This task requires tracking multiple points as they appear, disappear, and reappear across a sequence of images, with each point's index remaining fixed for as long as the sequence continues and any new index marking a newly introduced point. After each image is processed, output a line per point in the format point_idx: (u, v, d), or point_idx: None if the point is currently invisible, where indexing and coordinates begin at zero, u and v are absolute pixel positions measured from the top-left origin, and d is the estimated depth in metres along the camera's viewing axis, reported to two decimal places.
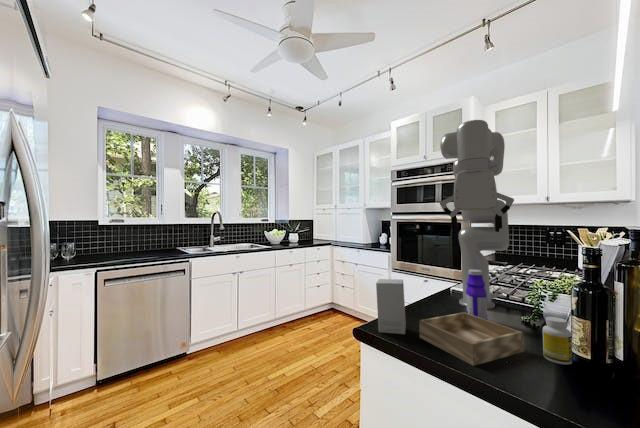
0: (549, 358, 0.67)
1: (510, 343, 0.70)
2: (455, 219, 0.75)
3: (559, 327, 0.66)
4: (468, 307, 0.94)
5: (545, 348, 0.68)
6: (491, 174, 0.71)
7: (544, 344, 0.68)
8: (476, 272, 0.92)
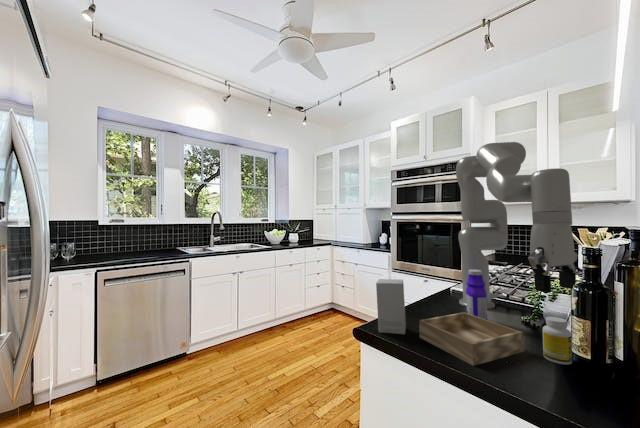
0: (549, 358, 0.67)
1: (510, 343, 0.70)
2: (549, 278, 0.65)
3: (559, 327, 0.66)
4: (468, 307, 0.94)
5: (545, 348, 0.68)
6: None
7: (544, 344, 0.68)
8: (476, 272, 0.92)
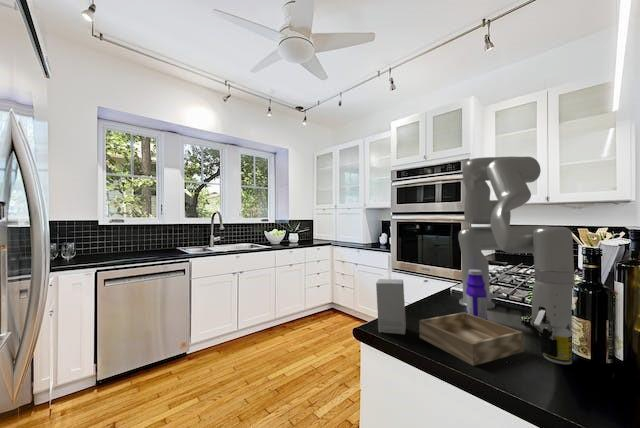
0: (549, 358, 0.67)
1: (510, 343, 0.70)
2: (556, 342, 0.65)
3: (559, 327, 0.66)
4: (468, 307, 0.94)
5: None
6: None
7: None
8: (476, 272, 0.92)
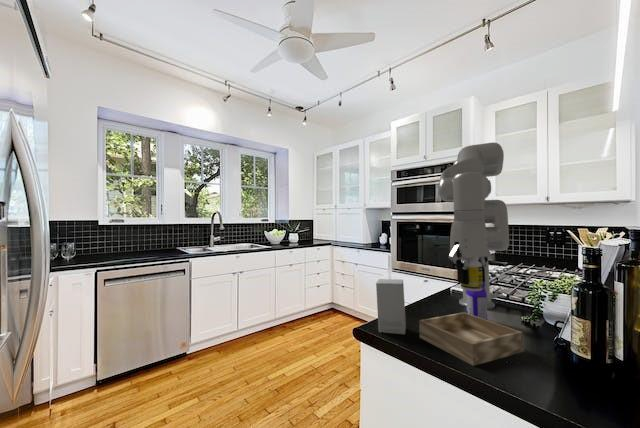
0: (463, 287, 0.76)
1: (510, 343, 0.70)
2: (467, 272, 0.75)
3: (471, 259, 0.76)
4: (468, 307, 0.94)
5: None
6: (485, 225, 0.77)
7: None
8: None
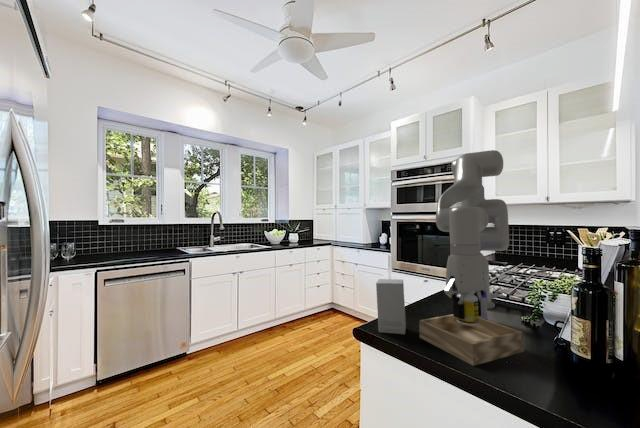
0: (459, 321, 0.77)
1: (510, 343, 0.70)
2: (463, 306, 0.75)
3: (467, 293, 0.76)
4: None
5: None
6: (481, 259, 0.78)
7: None
8: None
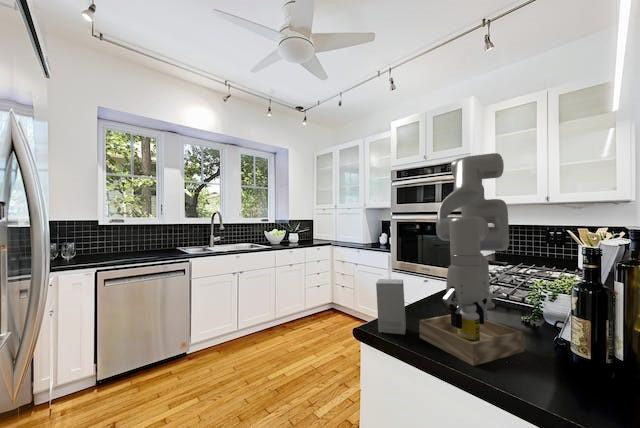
0: None
1: (510, 343, 0.70)
2: (461, 316, 0.75)
3: (468, 311, 0.76)
4: None
5: (458, 330, 0.78)
6: (481, 269, 0.78)
7: None
8: None
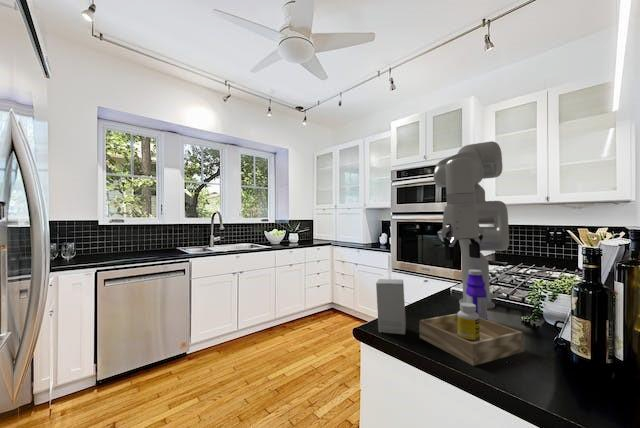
0: None
1: (510, 343, 0.70)
2: (454, 249, 0.78)
3: (468, 311, 0.76)
4: None
5: (458, 330, 0.78)
6: (476, 208, 0.82)
7: (458, 326, 0.78)
8: (476, 272, 0.92)
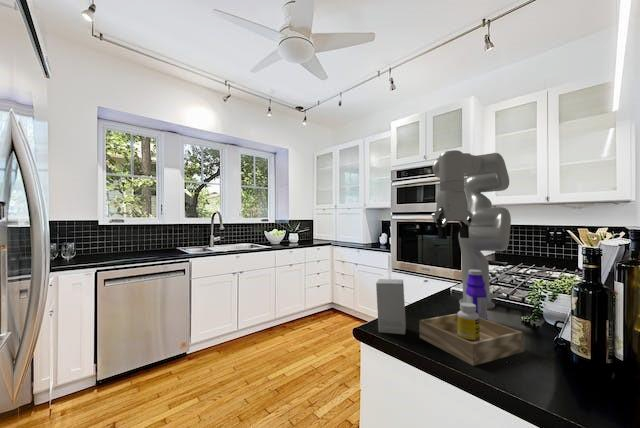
0: None
1: (510, 343, 0.70)
2: (446, 228, 0.91)
3: (468, 311, 0.76)
4: None
5: (458, 330, 0.78)
6: (465, 194, 0.94)
7: (458, 326, 0.78)
8: (476, 272, 0.92)
